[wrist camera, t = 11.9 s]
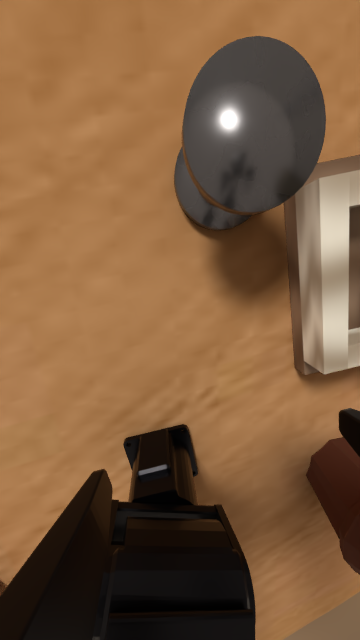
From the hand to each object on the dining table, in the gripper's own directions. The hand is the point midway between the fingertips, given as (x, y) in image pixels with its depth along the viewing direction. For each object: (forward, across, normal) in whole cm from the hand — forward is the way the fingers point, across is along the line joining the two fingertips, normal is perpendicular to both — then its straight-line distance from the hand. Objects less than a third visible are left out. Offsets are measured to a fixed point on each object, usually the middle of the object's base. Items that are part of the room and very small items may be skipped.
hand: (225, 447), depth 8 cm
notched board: (+12, -16, -3) cm, 20 cm away
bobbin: (+12, -5, -12) cm, 18 cm away
